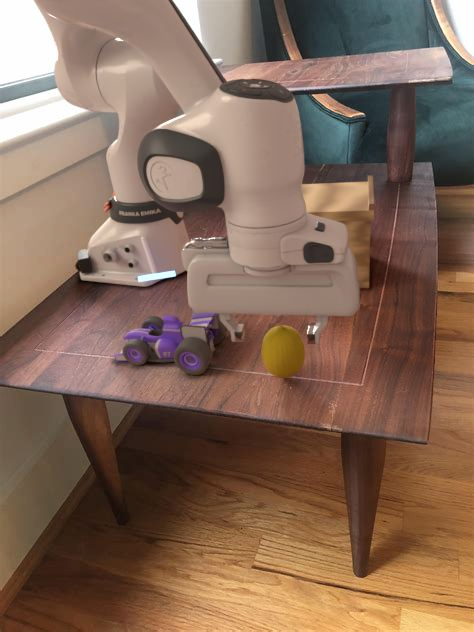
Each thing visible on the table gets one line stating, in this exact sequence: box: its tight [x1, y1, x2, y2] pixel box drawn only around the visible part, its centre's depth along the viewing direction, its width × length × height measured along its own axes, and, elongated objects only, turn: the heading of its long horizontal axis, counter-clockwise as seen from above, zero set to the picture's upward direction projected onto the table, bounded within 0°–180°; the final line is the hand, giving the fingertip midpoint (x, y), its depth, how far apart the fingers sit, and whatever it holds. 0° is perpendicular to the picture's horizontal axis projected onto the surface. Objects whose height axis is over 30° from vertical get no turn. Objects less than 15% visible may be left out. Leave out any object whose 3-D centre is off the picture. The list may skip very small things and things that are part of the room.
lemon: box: [260, 324, 306, 379], centre depth 69 cm, size 6×6×8 cm
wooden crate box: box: [302, 175, 375, 289], centre depth 91 cm, size 15×13×15 cm
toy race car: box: [113, 308, 229, 376], centre depth 78 cm, size 10×15×6 cm, turn 73°
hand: (276, 340), depth 68 cm, fingers open, 8 cm apart
